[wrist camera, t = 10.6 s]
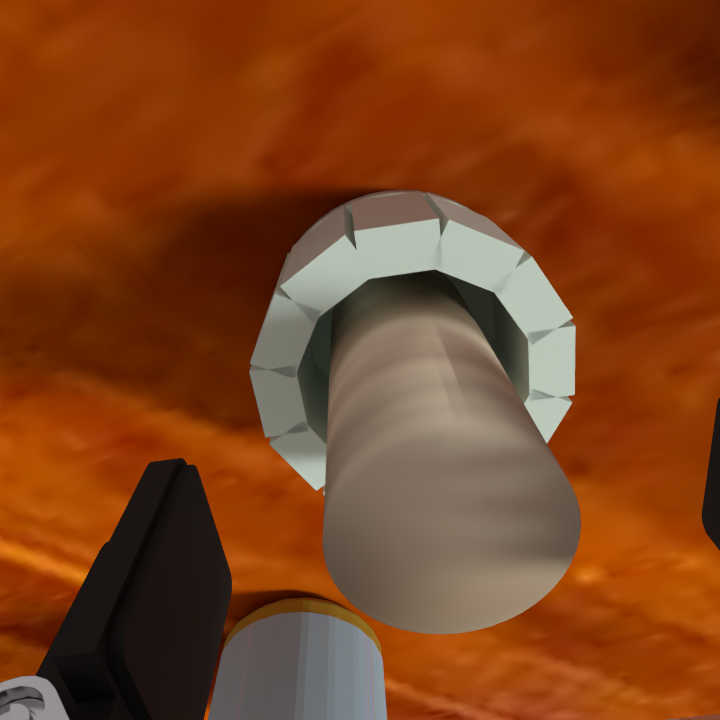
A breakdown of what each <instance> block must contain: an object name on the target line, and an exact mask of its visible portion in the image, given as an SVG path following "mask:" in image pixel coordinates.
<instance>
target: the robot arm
mask: <svg viewBox="0 0 720 720" xmlns="http://www.w3.org/2000/svg"><path fill="white" fill-rule="evenodd" d="M702 522H703V526H704V529H705V531H706V533H707V534H708V536H709V537H710V539H711V540H712V541H713V542H714V544H715V545H716V546H717V548H718V549H719V550H720V398H719V399H718V403H717V409H716V417H715V424H714V431H713V438H712V445H711V452H710V459H709V466H708V474H707V481H706V488H705V495H704V502H703V509H702ZM231 592H232V579H231V573H230V569H229V566H228V563H227V560H226V557H225V554H224V551H223V548H222V544H221V541H220V538H219V535H218V532H217V529H216V526H215V522H214V519H213V516H212V513H211V510H210V507H209V504H208V501H207V497H206V494H205V491H204V488H203V485H202V482H201V479H200V475H199V472H198V470H197V468H196V466H195V465H187V463H186V462H185V460H184V459H182V458H178V459H170V460H163V461H155V462H151V463H149V464H148V466H147V468H146V469H145V471H144V473H143V475H142V477H141V479H140V481H139V483H138V485H137V487H136V489H135V491H134V493H133V495H132V497H131V499H130V501H129V503H128V505H127V507H126V509H125V511H124V513H123V515H122V517H121V519H120V521H119V523H118V525H117V527H116V529H115V531H114V533H113V535H112V537H111V539H110V541H109V542H107V543H105V544H104V546H103V547H102V548H101V550H100V551H99V553H98V555H97V557H96V559H95V561H94V563H93V565H92V567H91V569H90V571H89V573H88V575H87V577H86V579H85V581H84V583H83V584H82V586H81V588H80V590H79V592H78V594H77V596H76V598H75V600H74V602H73V604H72V606H71V608H70V610H69V612H68V614H67V616H66V617H65V619H64V621H63V623H62V625H61V627H60V629H59V631H58V633H57V635H56V637H55V639H54V641H53V643H52V645H51V647H50V649H49V651H48V652H47V654H46V656H45V658H44V660H43V662H42V664H41V666H40V668H39V670H38V672H37V674H36V676H21V677H18V678H14V679H11V680H8V681H4V682H2V683H0V720H204V715H205V711H206V706H207V702H208V697H209V693H210V688H211V684H212V679H213V675H214V670H215V665H216V661H217V656H218V652H219V647H220V643H221V638H222V634H223V629H224V624H225V620H226V615H227V611H228V606H229V602H230V597H231ZM666 720H720V714H714V715H705V716H695V717H685V718H676V719H666Z"/></svg>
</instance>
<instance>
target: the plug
mask: <svg viewBox="0 0 720 720" xmlns="http://www.w3.org/2000/svg"><path fill="white" fill-rule="evenodd" d="M580 528H581V520H580V510H579V506H578V502H577V498H576V496H575V493H574V491H573V489H572V486H571V485H570V483H569V481H568V479H567V478H566V476H565V474H564V472H563V471H562V469H561V467H560V466H559V464H558V462H557V460H556V459H555V457H554V455H553V453H552V452H551V450H550V448H549V447H548V445H547V443H546V441H545V440H544V438H543V436H542V434H541V433H540V431H539V429H538V428H537V426H536V424H535V422H534V421H533V419H532V417H531V415H530V414H529V412H528V410H527V409H526V407H525V405H524V403H523V402H522V400H521V398H520V396H519V395H518V393H517V391H516V390H515V388H514V386H513V384H512V383H511V381H510V379H509V377H508V376H507V374H506V372H505V371H504V369H503V367H502V365H501V364H500V362H499V360H498V358H497V357H496V355H495V353H494V352H493V350H492V348H491V346H490V345H489V343H488V341H487V339H486V338H485V336H484V334H483V333H482V331H481V329H480V327H479V326H478V324H477V322H476V320H475V319H474V317H473V315H472V314H471V312H470V310H469V308H468V307H467V305H466V303H465V301H464V300H463V298H462V296H461V295H460V293H459V291H458V290H457V288H456V287H455V285H454V284H453V283H452V282H451V281H450V280H449V279H448V278H447V277H446V276H445V275H444V274H442V273H441V272H439V271H438V270H436V269H434V270H427V271H420V272H413V273H406V274H400V275H393V276H386V277H379V278H372V279H368V280H367V281H366V282H364V283H363V284H362V285H361V286H359V287H358V288H357V289H355V290H354V291H353V292H351V293H350V294H349V295H347V296H346V297H345V298H343V299H342V300H341V301H340V302H338V303H337V304H336V305H335V308H334V311H333V316H332V324H331V349H330V374H329V399H328V425H327V450H326V475H325V500H324V525H323V551H324V559H325V562H326V565H327V568H328V571H329V573H330V575H331V577H332V579H333V581H334V583H335V585H336V586H337V587H338V589H339V590H340V592H341V593H342V594H343V595H344V596H345V597H346V598H347V599H348V600H349V601H350V602H351V603H352V604H353V605H354V606H355V607H357V608H358V609H359V610H360V611H362V612H363V613H365V614H367V615H368V616H370V617H372V618H373V619H375V620H378V621H380V622H382V623H384V624H386V625H390V626H393V627H396V628H399V629H402V630H407V631H412V632H418V633H427V634H453V633H463V632H469V631H474V630H479V629H482V628H486V627H490V626H493V625H496V624H498V623H501V622H503V621H506V620H508V619H510V618H512V617H514V616H516V615H518V614H520V613H522V612H523V611H525V610H527V609H528V608H530V607H531V606H533V605H534V604H535V603H537V602H538V601H539V600H541V599H542V598H543V597H544V596H545V595H546V594H547V593H548V592H549V591H550V590H551V589H553V588H554V587H555V585H556V584H557V583H558V582H559V580H560V579H561V578H562V577H563V575H564V574H565V572H566V570H567V569H568V567H569V565H570V564H571V562H572V559H573V557H574V555H575V552H576V549H577V546H578V542H579V538H580Z"/></svg>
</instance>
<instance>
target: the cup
mask: <svg viewBox="0 0 720 720" xmlns="http://www.w3.org/2000/svg"><path fill="white" fill-rule="evenodd" d="M434 269H436V270H438V271H439V272H441V273H442V274H444V275H445V276H446V277H447V278H448V279H449V280H450V281H451V282H452V283H453V284H454V285H455V287H456V288H457V290H458V291H459V293H460V295H461V296H462V298H463V300H464V301H465V303H466V305H467V307H468V308H469V310H470V312H471V314H472V315H473V317H474V319H475V320H476V322H477V324H478V326H479V327H480V329H481V331H482V333H483V334H484V336H485V338H486V339H487V341H488V343H489V345H490V346H491V348H492V350H493V352H494V353H495V355H496V357H497V358H498V360H499V362H500V364H501V365H502V367H503V369H504V371H505V372H506V374H507V376H508V377H509V379H510V381H511V383H512V384H513V386H514V388H515V390H516V391H517V393H518V395H519V396H520V398H521V400H522V402H523V403H524V405H525V407H526V409H527V410H528V412H529V414H530V415H531V417H532V419H533V421H534V422H535V424H536V426H537V428H538V429H539V431H540V433H541V434H542V436H543V438H544V440H545V441H546V443H548V441H549V439H550V438H551V436H552V435H553V433H554V431H555V430H556V428H557V426H558V425H559V423H560V422H561V420H562V418H563V417H564V415H565V413H566V412H567V410H568V409H569V407H570V405H571V404H572V402H571V400H570V399H569V398H568V396H569V395H575V325H574V324H573V323H572V322H571V321H570V319H572V318H573V317H572V315H571V314H570V312H569V311H568V309H567V308H566V307H565V305H564V304H563V302H562V301H561V299H560V298H559V296H558V295H557V293H556V292H555V290H554V289H553V287H552V286H551V284H550V283H549V281H548V280H547V278H546V277H545V275H544V274H543V272H542V271H541V269H540V268H539V266H538V265H537V263H536V262H535V260H534V259H533V258H532V256H531V255H530V254H528V253H527V252H526V251H525V250H524V249H523V248H522V247H520V246H519V245H518V244H517V243H516V242H515V241H514V240H513V239H511V238H510V237H509V236H508V235H507V234H506V233H505V232H504V231H502V230H501V229H500V228H499V227H498V226H497V225H496V224H494V223H493V222H492V221H491V220H489V219H488V218H487V217H485V216H482V215H480V214H478V213H475V212H473V211H472V210H470V209H469V208H468V207H466V206H464V205H462V204H460V203H458V202H456V201H454V200H452V199H449V198H446V197H443V196H440V195H437V194H434V193H429V192H424V191H418V190H389V191H380V192H376V193H371V194H367V195H363V196H361V197H358V198H355V199H353V200H350V201H348V202H346V203H344V204H342V205H340V206H338V207H336V208H334V209H332V210H331V211H330V212H328V213H327V214H325V215H324V216H323V217H321V218H320V219H318V220H317V221H316V222H315V223H314V224H313V225H312V226H311V227H310V228H309V229H308V230H307V231H306V232H305V233H304V234H303V235H302V237H301V238H300V239H299V240H298V242H297V243H296V244H295V245H293V246H292V249H291V252H290V253H288V254H287V257H286V259H285V262H284V265H283V268H282V270H281V273H280V276H279V279H278V282H277V285H276V287H275V290H274V293H273V296H272V299H271V301H270V304H269V307H268V310H267V313H266V316H265V319H264V322H263V325H262V328H261V331H260V334H259V337H258V340H257V343H256V346H255V349H254V352H253V355H252V358H251V361H250V364H252V365H251V368H250V371H249V373H250V377H251V381H252V385H253V389H254V393H255V397H256V401H257V406H258V410H259V414H260V418H261V422H262V426H263V430H264V434H265V437H271V439H270V443H269V444H270V445H271V446H272V447H273V448H274V449H275V450H276V451H277V452H278V453H279V454H280V455H281V456H282V457H283V458H284V459H285V460H286V461H287V462H288V463H289V464H290V465H291V466H292V467H293V468H294V469H295V470H296V471H297V472H298V473H299V474H300V475H301V476H302V477H303V478H304V479H305V480H306V481H307V482H308V483H309V484H310V485H311V486H312V487H313V488H314V489H315V490H318V489H319V488H321V487H322V486H324V488H323V495H325V475H326V450H327V425H328V399H329V374H330V349H331V324H332V316H333V311H334V308H335V305H336V304H337V303H338V302H340V301H341V300H342V299H343V298H345V297H346V296H347V295H349V294H350V293H351V292H353V291H354V290H355V289H357V288H358V287H359V286H361V285H362V284H363V283H364V282H366V281H367V280H368V279H372V278H379V277H386V276H393V275H400V274H406V273H413V272H420V271H427V270H434Z"/></svg>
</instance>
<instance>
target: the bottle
mask: <svg viewBox="0 0 720 720" xmlns="http://www.w3.org/2000/svg"><path fill="white" fill-rule="evenodd" d="M208 720H387V713H386V699H385V686H384V672H383V659H382V654H381V645H380V642H379V640H378V639H377V637H376V635H375V633H374V631H373V630H372V629H371V627H370V626H369V625H368V624H366V623H365V622H364V621H363V620H362V619H360V618H359V617H358V616H357V615H355V614H354V613H353V612H351V611H350V610H348V609H347V608H345V607H342V606H340V605H338V604H335V603H333V602H331V601H328V600H322V599H316V598H310V597H301V598H287V599H282V600H279V601H276V602H273V603H270V604H267V605H265V606H263V607H261V608H259V609H258V610H256V611H254V612H252V613H251V614H249V615H248V616H247V617H245V618H244V619H242V620H241V621H239V622H238V623H237V624H236V625H235V627H234V628H233V629H232V631H231V632H230V633H229V635H228V636H227V638H226V640H225V644H224V649H223V652H222V655H221V659H220V664H219V669H218V674H217V678H216V683H215V688H214V693H213V697H212V702H211V707H210V712H209V716H208Z"/></svg>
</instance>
